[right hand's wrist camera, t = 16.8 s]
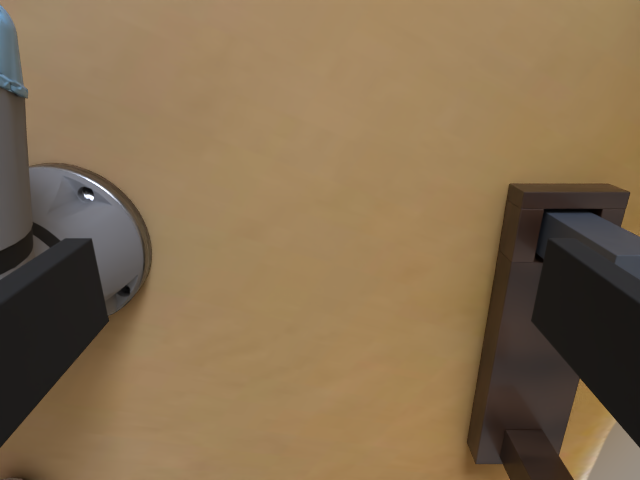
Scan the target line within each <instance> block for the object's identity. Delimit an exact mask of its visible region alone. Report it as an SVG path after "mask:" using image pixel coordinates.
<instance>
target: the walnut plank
mask: <svg viewBox="0 0 640 480" xmlns="http://www.w3.org/2000/svg"><path fill="white" fill-rule="evenodd" d="M629 195H630V192H628V191H626V190H623V189H620V188H618V187H615V186H613V185H610V184H510V185H509V191H508V197H507V203H506V209H505V215H504V221H503V227H502V233H501V240H500V246H499V252H498V258H497V264H496V270H495V276H494V283H493V289H492V295H491V301H490V307H489V313H488V319H487V325H486V331H485V337H484V343H483V349H482V355H481V361H480V368H479V374H478V380H477V386H476V392H475V398H474V404H473V410H472V416H471V422H470V428H469V434H468V440H467V443H468V446H469V448H470V451H471V453H472V456H473V458H474V461H475V463H476V464H503V465H504V468H505V470H506V472H507V474H508V476H509V478H510V480H574V479H573V478H572V476H571V475H570V473H569V471H568V470H567V468H566V467H565V465H564V463H563V462H562V460H561V459H560V457H559V453H560V449H561V445H562V442H563V438H564V434H565V431H566V427H567V423H568V420H569V416H570V412H571V409H572V405H573V401H574V398H575V394H576V390H577V386H578V383H579V379H580V378H579V376H578V375H577V374H576V373H575V372H574V371H573V369H572V368H571V367H570V366H569V365H568V364H567V362H566V361H565V360H564V359H563V358H562V357H561V355H560V354H559V353H558V352H557V351H556V350H555V348H554V347H553V346H552V345H551V344H550V343H549V341H548V340H547V339H546V338H545V337H544V336H543V334H542V333H541V332H540V331H539V330H538V329H537V327H536V326H535V325H534V324H533V323H532V322H531V318H532V314H533V309H534V304H535V299H536V294H537V290H538V285H539V280H540V275H541V270H542V265H543V261H544V259H543V258H542V257H540V256H539V255H538V254H537V253H536V247H537V242H538V237H539V232H540V227H541V222H542V217H543V212H544V209H586V210H588V211H589V212H591V213H593V214H595V215H597V216H599V217H601V218H603V219H605V220H607V221H609V222H611V223H613V224H615V225H617V226H619V227H621V224H622V220H623V217H624V213H625V209H626V206H627V203H628V199H629Z"/></svg>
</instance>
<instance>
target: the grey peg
mask: <svg viewBox="0 0 640 480" xmlns="http://www.w3.org/2000/svg"><path fill="white" fill-rule="evenodd" d="M548 238H575V239H577V240H578V241H580V242H582V243H583V244H585V245H586V246H588V247H589V248H591V249H592V250H594V251H596V252H597V253H599V254H600V255H602V256H603V257H605V258H607V259H608V260H610V261H611V262H613V263H614V264H616V265H617V266H619V267H621V268H622V269H624V270H625V271H627V272H628V273H630V274H632V275H633V276H635V277H636V278H638V279H639V280H640V237H639V236H637V235H635V234H633V233H631V232H629V231H627V230H625V229H623V228H621V227H619V226H617V225H615V224H613V223H611V222H609V221H607V220H605V219H603V218H601V217H599V216H597V215H595V214H593V213H591V212H589V211H588V210H586V209H544V212H543V217H542V222H541V227H540V232H539V237H538V242H537V247H536V253H537V254H538V255H539V256H540V257H542V258H543V259H544V256H545V251H546V246H547V241H548Z"/></svg>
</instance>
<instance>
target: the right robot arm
mask: <svg viewBox="0 0 640 480" xmlns="http://www.w3.org/2000/svg"><path fill="white" fill-rule="evenodd" d="M25 98H28V90H27V89H26V88H25V87H24V84H23V77H22V69H21V62H20V55H19V47H18V39H17V32H16V28H15V26H14V23H13V21H12V19H11V17H10V16H9V14H8V13H7V12H6V10H5V9H4V8H3V7H2V6H1V5H0V447H1V446H2V445H3V444H4V443H5V442H6V440H7V439H8V438H9V437H10V436H11V435H12V433H13V432H14V431H15V430H16V429H17V428H18V426H19V425H20V424H21V423H22V422H23V421H24V419H25V418H26V417H27V416H28V415H29V414H30V412H31V411H32V410H33V409H34V408H35V407H36V405H37V404H38V403H39V402H40V401H41V400H42V398H43V397H44V396H45V395H46V394H47V393H48V391H49V390H50V389H51V388H52V387H53V386H54V384H55V383H56V382H57V381H58V380H59V379H60V378H61V376H62V375H63V374H64V373H65V372H66V371H67V369H68V368H69V367H70V366H71V365H72V364H73V362H74V361H75V360H76V359H77V358H78V357H79V355H80V354H81V353H82V352H83V351H84V350H85V348H86V347H87V346H88V345H89V344H90V343H91V341H92V340H93V339H94V338H95V337H96V336H97V334H98V333H99V332H100V331H101V330H102V329H103V327H104V326H105V325H106V324H107V323H108V322H109V318H108V316H109V315H111V314H113V313H115V312H117V311H118V310H120V309H121V308H122V307H124V306H125V305H126V304H127V303H128V302H129V301H130V300H131V299H132V297H133V296H134V295H135V294H136V293H137V292H138V290H139V289H140V288H141V286H142V285H143V283H144V281H145V280H146V278H147V275H148V272H149V269H150V265H151V253H152V251H151V242H150V237H149V233H148V230H147V227H146V225H145V222H144V220H143V218H142V216H141V215H140V213H139V211H138V210H137V208H136V207H135V206H134V204H133V203H132V202H131V200H130V199H129V198H128V197H127V196H126V195H125V194H124V193H123V192H122V191H121V190H120V189H119V188H117V187H116V186H115V185H114V184H112V183H111V182H109V181H108V180H106V179H105V178H103V177H101V176H100V175H98V174H96V173H94V172H91V171H89V170H86V169H84V168H81V167H77V166H73V165H68V164H60V163H45V164H37V165H33V166H29V163H28V148H27V134H26V112H25ZM531 322H532V323H533V324H534V325H535V326H536V327H537V329H538V330H539V331H540V332H541V333H542V334H543V336H544V337H545V338H546V339H547V340H548V341H549V343H550V344H551V345H552V346H553V347H554V348H555V350H556V351H557V352H558V353H559V354H560V355H561V357H562V358H563V359H564V360H565V361H566V362H567V364H568V365H569V366H570V367H571V368H572V369H573V371H574V372H575V373H576V374H577V375H578V376H579V378H580V379H581V380H582V381H583V382H584V383H585V384H586V386H587V387H588V388H589V389H590V390H591V391H592V393H593V394H594V395H595V396H596V397H597V398H598V400H599V401H600V402H601V403H602V404H603V405H604V407H605V408H606V409H607V410H608V411H609V412H610V414H611V415H612V416H613V417H614V418H615V419H616V421H617V422H618V423H619V424H620V425H621V426H622V428H623V429H624V430H625V431H626V432H627V433H628V434H629V436H630V437H631V438H632V439H633V440H634V442H635V443H636V444H637V445H638V446H639V447H640V280H639V279H638V278H636V277H635V276H633V275H632V274H630V273H628V272H627V271H625V270H624V269H622V268H621V267H619V266H617V265H616V264H614V263H613V262H611V261H610V260H608V259H607V258H605V257H603V256H602V255H600V254H599V253H597V252H596V251H594V250H592V249H591V248H589V247H588V246H586V245H585V244H583V243H582V242H580V241H578V240H577V239H575V238H548V241H547V246H546V251H545V256H544V261H543V265H542V270H541V275H540V280H539V285H538V290H537V294H536V299H535V304H534V309H533V314H532V318H531Z"/></svg>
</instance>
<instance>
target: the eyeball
mask: <svg viewBox="0 0 640 480" xmlns="http://www.w3.org/2000/svg"><path fill="white" fill-rule="evenodd" d="M2 480H23V479H21V478H6V479H2Z"/></svg>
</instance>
